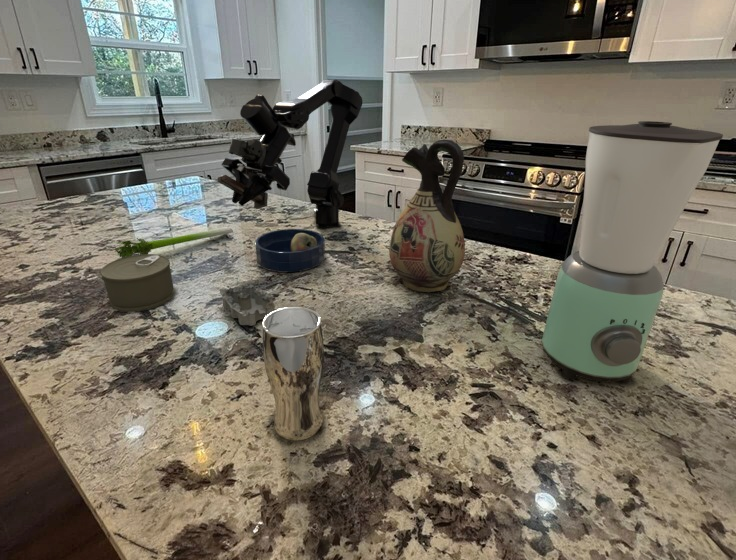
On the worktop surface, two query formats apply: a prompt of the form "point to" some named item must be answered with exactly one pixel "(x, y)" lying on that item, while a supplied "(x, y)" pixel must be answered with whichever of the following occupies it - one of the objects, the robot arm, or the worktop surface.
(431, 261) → the ceramic jug
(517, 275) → the worktop surface
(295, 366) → the beer glass
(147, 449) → the worktop surface
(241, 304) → the egg carton
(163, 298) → the can
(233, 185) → the dark brown piece
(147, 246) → the celery stalk
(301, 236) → the apple
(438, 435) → the worktop surface
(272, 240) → the bowl
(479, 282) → the worktop surface
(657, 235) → the blender
